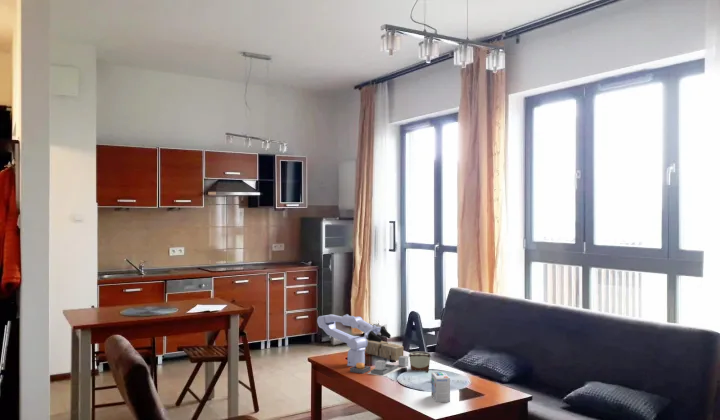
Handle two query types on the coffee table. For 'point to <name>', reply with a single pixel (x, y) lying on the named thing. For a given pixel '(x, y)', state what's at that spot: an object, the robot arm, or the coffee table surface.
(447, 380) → the light bulb box
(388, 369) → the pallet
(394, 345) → the block tower
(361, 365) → the button
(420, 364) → the food container
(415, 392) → the coffee table surface
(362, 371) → the button housing
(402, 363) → the billet
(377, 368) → the seated billet
